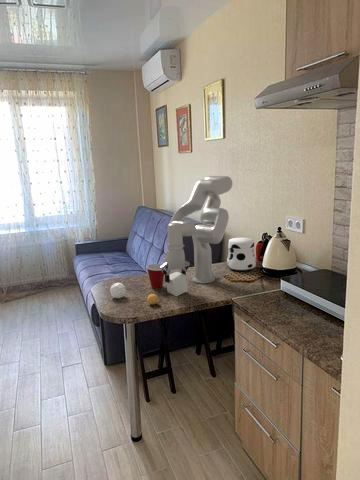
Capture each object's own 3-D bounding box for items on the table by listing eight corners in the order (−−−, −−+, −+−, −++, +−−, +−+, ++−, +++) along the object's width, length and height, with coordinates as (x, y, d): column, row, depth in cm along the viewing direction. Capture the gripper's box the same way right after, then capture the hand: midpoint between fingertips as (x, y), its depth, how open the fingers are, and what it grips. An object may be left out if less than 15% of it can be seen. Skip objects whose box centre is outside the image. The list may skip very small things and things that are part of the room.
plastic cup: (164, 291, 192) (163, 269, 189) (144, 290, 194) (143, 268, 192) (169, 284, 202) (168, 263, 200) (150, 283, 205) (149, 263, 202)
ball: (154, 301, 179) (154, 291, 178) (160, 304, 175) (159, 294, 174) (145, 303, 176) (145, 294, 175) (150, 307, 172) (150, 297, 171)
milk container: (261, 268, 225) (261, 239, 221) (244, 274, 213) (244, 244, 210) (238, 263, 237) (238, 235, 233) (221, 269, 226) (220, 240, 222)
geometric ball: (121, 301, 188) (130, 287, 189) (117, 301, 180) (126, 287, 181) (109, 293, 189) (118, 280, 190) (105, 293, 181) (113, 279, 182)
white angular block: (179, 286, 194) (176, 271, 191) (188, 290, 188) (185, 274, 185) (167, 292, 190) (164, 276, 188) (176, 296, 184) (172, 280, 181)
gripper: (185, 244, 191) (185, 276, 194) (156, 248, 182) (157, 281, 185) (193, 246, 185) (193, 279, 188) (164, 250, 176) (164, 285, 178)
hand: (175, 280), depth 186 cm, fingers open, 9 cm apart
